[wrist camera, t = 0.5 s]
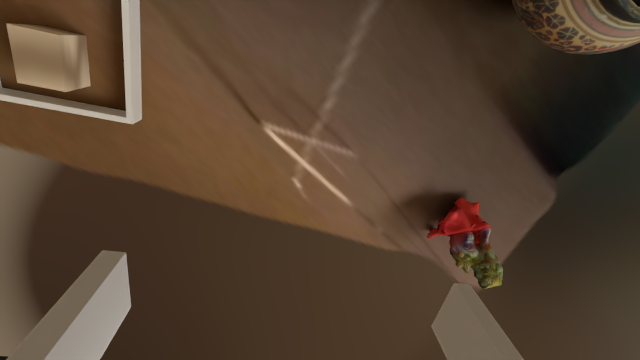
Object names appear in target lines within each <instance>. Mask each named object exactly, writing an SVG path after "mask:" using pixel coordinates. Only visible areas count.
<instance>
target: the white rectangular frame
mask: <svg viewBox="0 0 640 360" xmlns="http://www.w3.org/2000/svg"><path fill="white" fill-rule="evenodd" d="M121 5H122V28H123V52H124V75H125V98H126V111H123V110H118V109H113V108H107V107H102V106H97V105H92V104H86V103H81V102H76V101H71V100H65V99H60V98H55V97H50V96H44V95H39V94H34V93H29V92H23V91H18V90H13V89H8V88H2V85H1V80H0V100H3V101H9V102H14V103H20V104H25V105H30V106H36V107H41V108H47V109H52V110H58V111H63V112H69V113H74V114H79V115H85V116H90V117H96V118H101V119H107V120H112V121H118V122H123V123H128V124H134V123H136V122H138V121H140V120H141V119H142V96H141V48H140V1H139V0H121Z"/></svg>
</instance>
